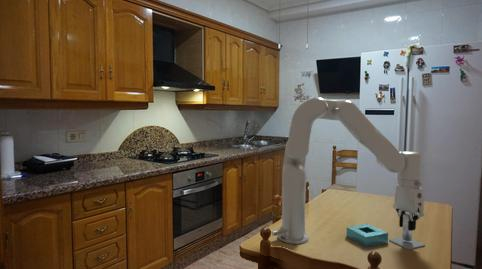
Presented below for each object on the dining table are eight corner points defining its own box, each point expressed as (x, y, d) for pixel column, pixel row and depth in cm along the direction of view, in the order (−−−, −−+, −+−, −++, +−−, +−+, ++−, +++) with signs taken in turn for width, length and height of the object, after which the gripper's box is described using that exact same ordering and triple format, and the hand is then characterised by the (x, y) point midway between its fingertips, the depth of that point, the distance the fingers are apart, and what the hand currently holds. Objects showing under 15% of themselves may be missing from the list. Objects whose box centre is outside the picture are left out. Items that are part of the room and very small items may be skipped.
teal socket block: (366, 247, 120) (366, 237, 120) (346, 236, 131) (346, 227, 130) (387, 242, 124) (388, 232, 124) (367, 232, 135) (367, 223, 135)
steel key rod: (407, 241, 121) (408, 216, 121) (400, 238, 125) (400, 214, 124) (414, 240, 123) (414, 215, 122) (406, 236, 126) (407, 212, 125)
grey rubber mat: (408, 249, 118) (408, 248, 118) (389, 240, 126) (389, 239, 126) (425, 245, 121) (425, 244, 121) (405, 237, 129) (405, 236, 129)
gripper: (435, 186, 116) (433, 234, 117) (398, 177, 131) (396, 220, 132) (421, 188, 113) (419, 237, 114) (384, 179, 128) (383, 222, 129)
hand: (407, 227), depth 123 cm, fingers closed on steel key rod, 3 cm apart
